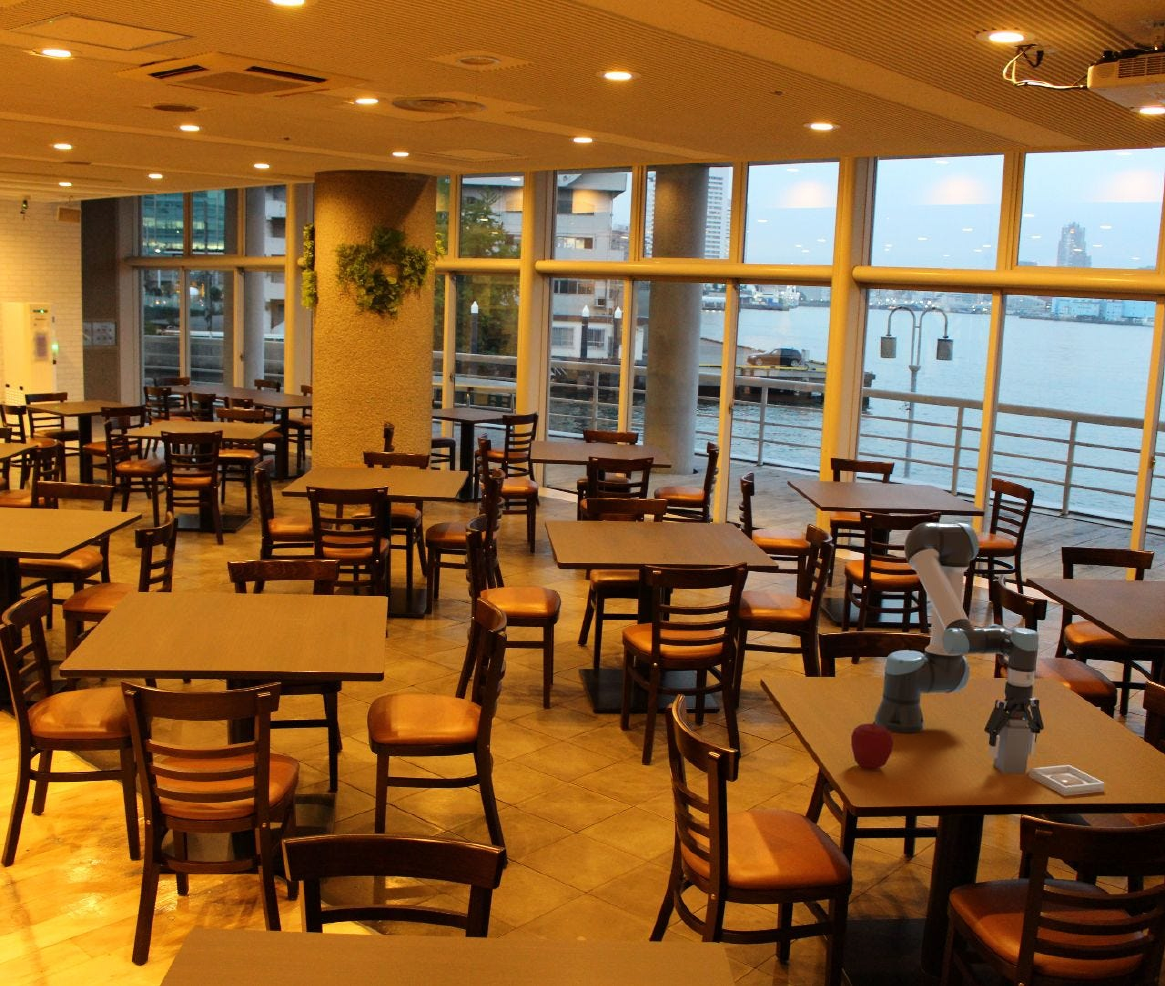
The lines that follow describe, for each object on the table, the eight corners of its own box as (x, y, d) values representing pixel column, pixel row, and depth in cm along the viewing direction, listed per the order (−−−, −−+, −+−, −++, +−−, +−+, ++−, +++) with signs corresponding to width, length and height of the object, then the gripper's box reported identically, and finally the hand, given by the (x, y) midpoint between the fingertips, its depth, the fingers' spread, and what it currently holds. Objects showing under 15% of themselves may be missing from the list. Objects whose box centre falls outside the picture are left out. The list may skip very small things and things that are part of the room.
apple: (882, 779, 344) (887, 733, 342) (842, 769, 350) (846, 723, 348) (896, 767, 354) (900, 722, 352) (857, 757, 360) (861, 713, 358)
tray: (1064, 795, 340) (1065, 787, 340) (1029, 776, 353) (1030, 768, 353) (1104, 791, 345) (1105, 783, 345) (1068, 772, 358) (1069, 764, 358)
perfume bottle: (993, 764, 361) (1000, 705, 358) (1015, 765, 361) (1022, 706, 359) (1003, 773, 354) (1010, 713, 351) (1025, 774, 355) (1032, 714, 352)
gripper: (993, 689, 346) (985, 762, 349) (1062, 684, 355) (1053, 756, 358) (976, 681, 353) (968, 753, 356) (1044, 676, 362) (1035, 747, 365)
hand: (1011, 755), depth 357 cm, fingers open, 12 cm apart
